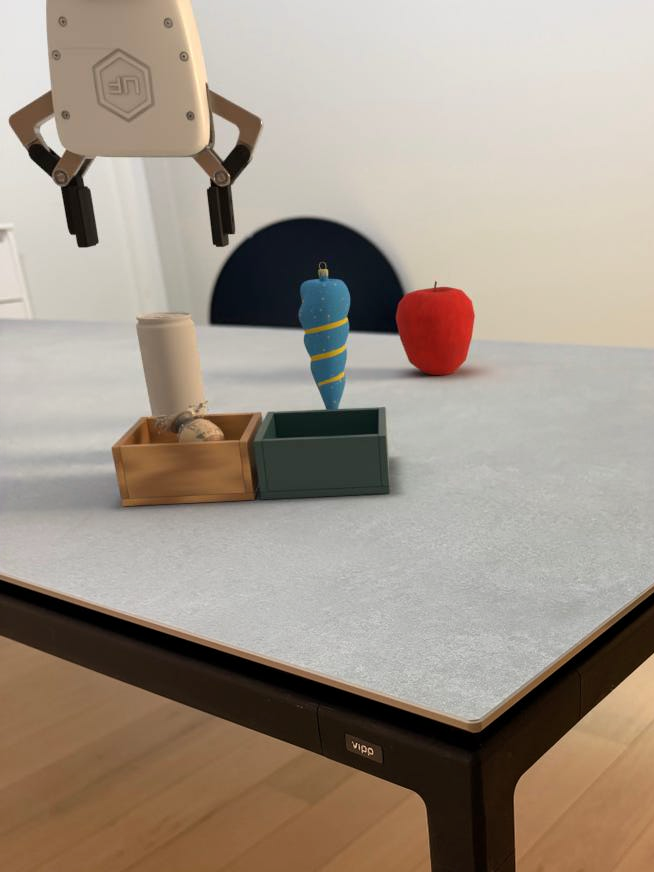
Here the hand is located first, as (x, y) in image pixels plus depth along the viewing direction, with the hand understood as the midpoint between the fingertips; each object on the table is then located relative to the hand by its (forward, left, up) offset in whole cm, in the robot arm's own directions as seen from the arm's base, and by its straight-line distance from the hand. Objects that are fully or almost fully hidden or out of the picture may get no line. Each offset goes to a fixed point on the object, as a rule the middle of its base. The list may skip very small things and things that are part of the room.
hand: (155, 246), depth 70 cm
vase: (0, +1, -15) cm, 15 cm away
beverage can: (-2, +10, -18) cm, 21 cm away
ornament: (+11, +22, -18) cm, 30 cm away
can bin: (+11, -1, -18) cm, 21 cm away
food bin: (+1, -1, -18) cm, 18 cm away
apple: (+23, +44, -18) cm, 53 cm away
